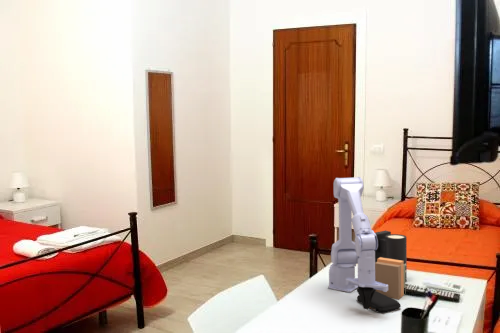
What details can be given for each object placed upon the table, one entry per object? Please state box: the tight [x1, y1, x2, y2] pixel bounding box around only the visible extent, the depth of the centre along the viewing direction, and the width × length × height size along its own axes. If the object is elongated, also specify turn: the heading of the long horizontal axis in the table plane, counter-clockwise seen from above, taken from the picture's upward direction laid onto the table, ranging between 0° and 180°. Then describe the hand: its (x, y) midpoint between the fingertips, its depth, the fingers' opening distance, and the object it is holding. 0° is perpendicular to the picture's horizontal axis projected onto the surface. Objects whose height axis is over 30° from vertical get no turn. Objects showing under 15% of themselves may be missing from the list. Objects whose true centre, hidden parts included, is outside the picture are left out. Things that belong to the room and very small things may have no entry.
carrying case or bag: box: [356, 291, 402, 314], centre depth 180 cm, size 11×3×15 cm
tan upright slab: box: [375, 257, 406, 300], centre depth 190 cm, size 8×9×13 cm
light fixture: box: [374, 229, 408, 283], centre depth 207 cm, size 10×14×18 cm
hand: (366, 308), depth 174 cm, fingers closed
